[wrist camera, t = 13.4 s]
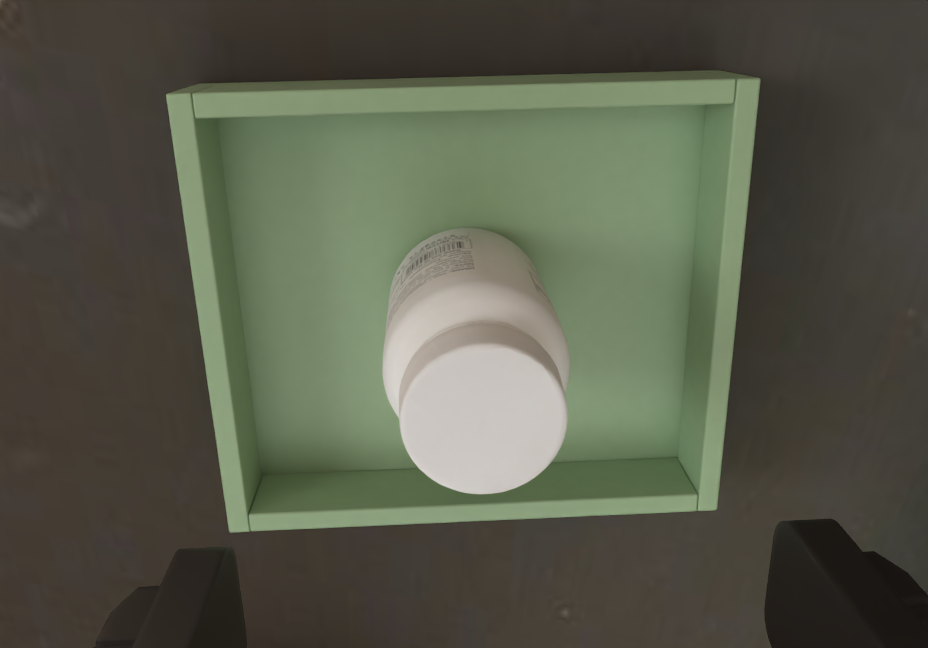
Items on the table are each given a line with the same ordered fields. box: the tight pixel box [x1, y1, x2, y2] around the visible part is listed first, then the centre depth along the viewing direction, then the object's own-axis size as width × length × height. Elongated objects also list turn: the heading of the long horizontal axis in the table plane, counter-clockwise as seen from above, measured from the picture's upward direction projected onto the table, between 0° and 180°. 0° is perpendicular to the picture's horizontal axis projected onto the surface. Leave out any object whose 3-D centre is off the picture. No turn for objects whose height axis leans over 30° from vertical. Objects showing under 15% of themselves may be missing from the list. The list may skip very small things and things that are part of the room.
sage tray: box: [166, 70, 760, 532], centre depth 23 cm, size 14×12×3 cm
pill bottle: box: [382, 228, 570, 494], centre depth 20 cm, size 4×4×8 cm
